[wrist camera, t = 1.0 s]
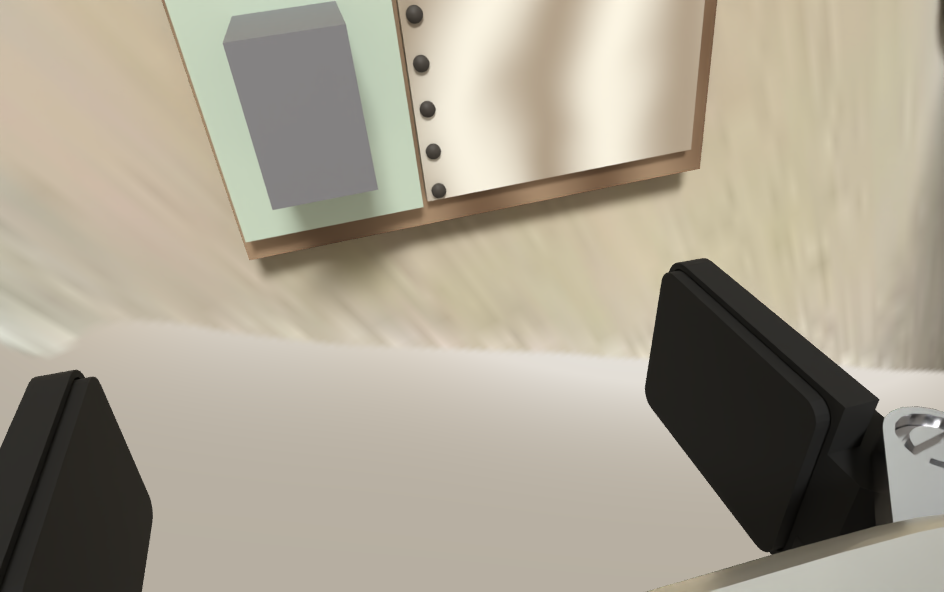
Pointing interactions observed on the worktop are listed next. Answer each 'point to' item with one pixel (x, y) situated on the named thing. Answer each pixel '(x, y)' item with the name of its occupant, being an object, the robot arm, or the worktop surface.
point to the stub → (302, 108)
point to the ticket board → (536, 103)
